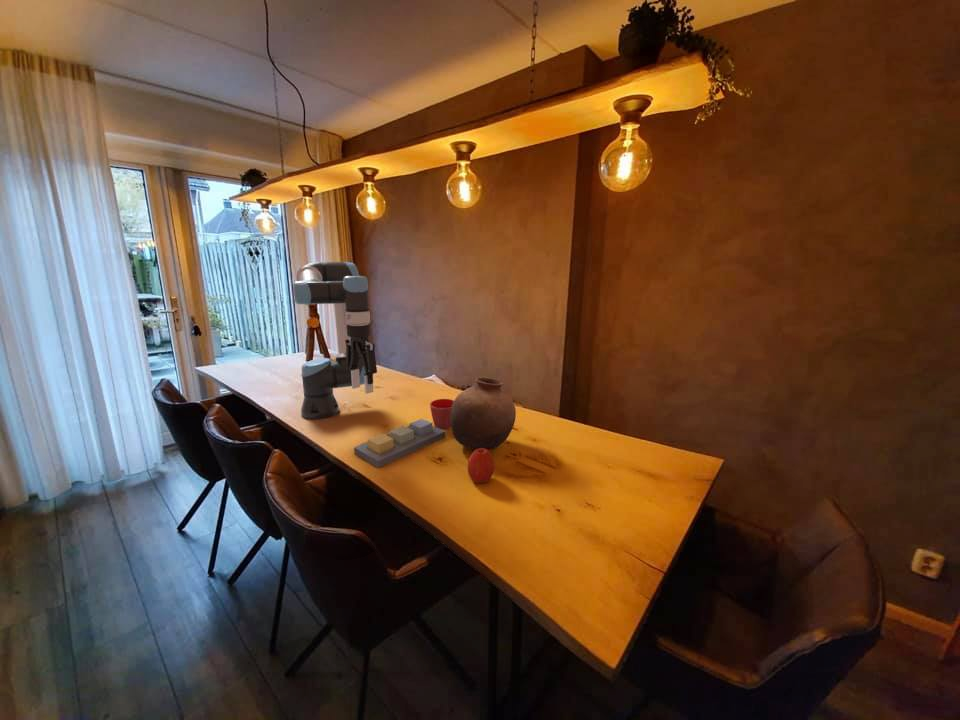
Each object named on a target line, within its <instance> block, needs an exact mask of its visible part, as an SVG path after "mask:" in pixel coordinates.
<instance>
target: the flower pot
mask: <svg viewBox="0 0 960 720" xmlns="http://www.w3.org/2000/svg"><path fill="white" fill-rule="evenodd" d="M454 400H455V399H450V398H449V399H448V398H438V399H433V400H432V401H431V402H430V403H429V408H430V412H431V417H432V421H433V422H432V423H433V426H434V427H437V428H439V429H442V430H448V429H451V424H450V416H451V409H452V405H453V403H454Z"/></svg>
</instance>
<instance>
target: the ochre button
mask: <svg viewBox="0 0 960 720" xmlns="http://www.w3.org/2000/svg"><path fill="white" fill-rule="evenodd" d="M386 435H387V434H384V433H380V434H378V435H377V436H376V435H375V436H373V437H371V438H368V439H367V442H368V449H369V450H371V451H373V452H375V453H377V454H381V453H383V452H386V451H388V450H390V449H393V448H394V443H393V438H390V437H388V436H386Z"/></svg>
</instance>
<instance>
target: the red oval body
mask: <svg viewBox="0 0 960 720" xmlns="http://www.w3.org/2000/svg"><path fill="white" fill-rule="evenodd" d="M468 459H469V460H468V462H467V473H468V476H469V478H470V480H471V481H472V482H473V483H474V484H483V483H485V482H488V481H490V479H491V478H492V476H493V474H494V472H495V469H496V468H495V466H496V465H495V461H494V458H493V456H492V454H491V453H490V450H486V449H484V448H479V449H476V450H475V449H474V451H473V452H472V454H471V455H470V457H469V458H468Z"/></svg>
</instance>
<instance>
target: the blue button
mask: <svg viewBox="0 0 960 720" xmlns="http://www.w3.org/2000/svg"><path fill="white" fill-rule="evenodd" d="M409 426H410V429H411V430H414V434H415V435H418V436H423V435H425V434H427V433H430V432H432V426H433V422H431V421H429V420H425V419H423V418H420V419H418V420H415V421H413V422H410V423H409Z"/></svg>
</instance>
